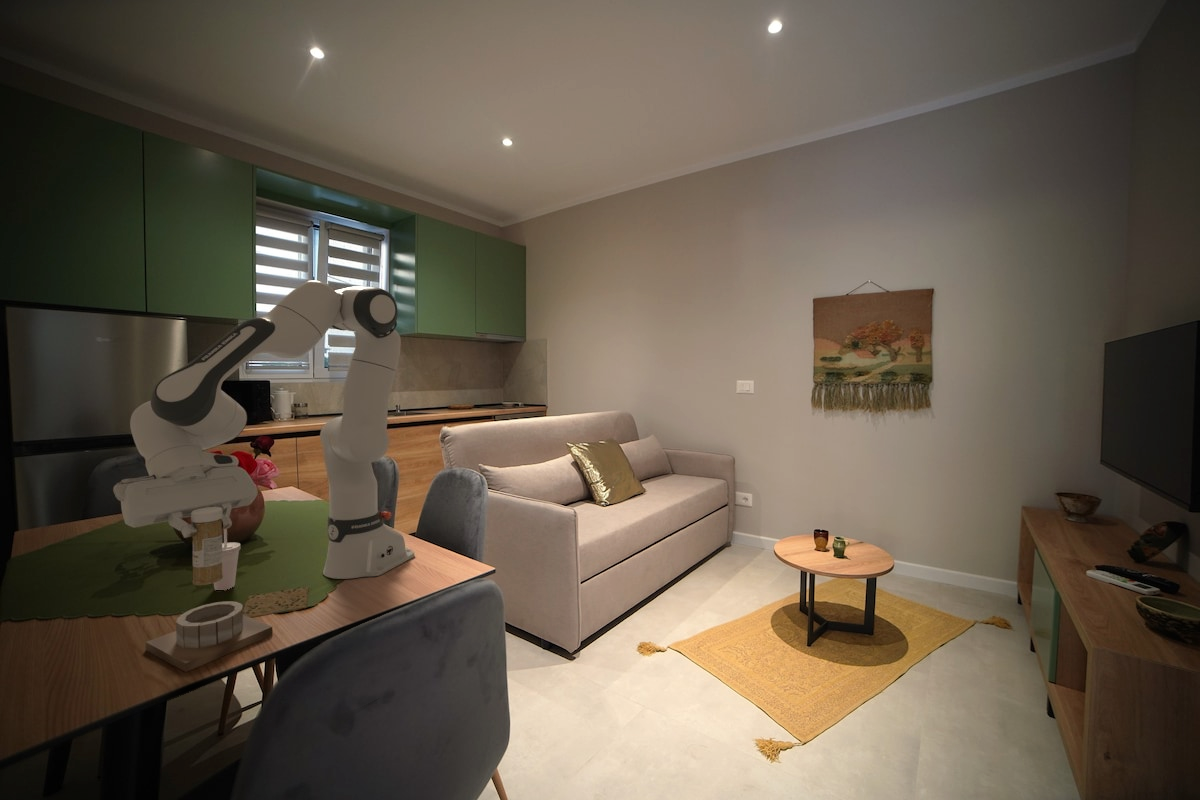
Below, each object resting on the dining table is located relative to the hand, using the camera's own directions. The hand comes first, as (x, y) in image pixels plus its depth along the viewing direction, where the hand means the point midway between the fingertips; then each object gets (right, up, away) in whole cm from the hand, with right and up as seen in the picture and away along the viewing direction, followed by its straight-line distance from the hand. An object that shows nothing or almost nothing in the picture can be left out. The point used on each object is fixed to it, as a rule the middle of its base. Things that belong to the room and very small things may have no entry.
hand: (209, 530), depth 92 cm
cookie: (+1, -21, +18) cm, 27 cm away
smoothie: (-16, -20, +25) cm, 35 cm away
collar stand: (-1, -21, +1) cm, 21 cm away
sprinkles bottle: (-1, -10, +1) cm, 10 cm away
